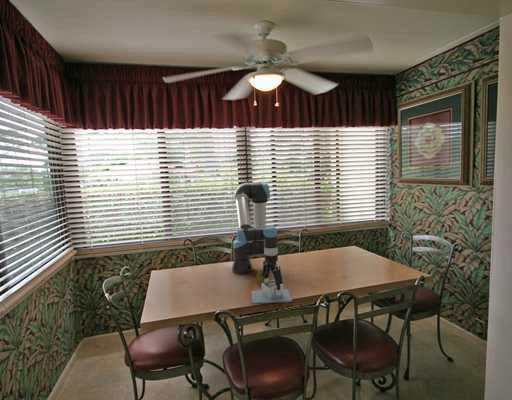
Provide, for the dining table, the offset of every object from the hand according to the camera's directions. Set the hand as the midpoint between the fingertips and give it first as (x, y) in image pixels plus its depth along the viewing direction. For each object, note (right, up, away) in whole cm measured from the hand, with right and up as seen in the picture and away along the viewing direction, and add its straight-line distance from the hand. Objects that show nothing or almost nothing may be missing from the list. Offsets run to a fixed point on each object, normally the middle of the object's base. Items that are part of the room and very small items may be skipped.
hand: (272, 291), depth 169 cm
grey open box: (0, -2, 0) cm, 2 cm away
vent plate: (0, -3, 0) cm, 3 cm away
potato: (-4, -1, +19) cm, 20 cm away
